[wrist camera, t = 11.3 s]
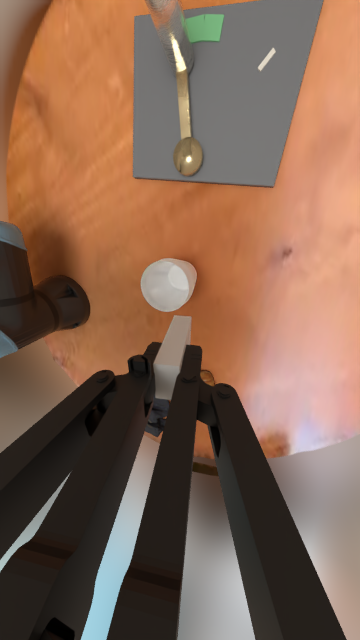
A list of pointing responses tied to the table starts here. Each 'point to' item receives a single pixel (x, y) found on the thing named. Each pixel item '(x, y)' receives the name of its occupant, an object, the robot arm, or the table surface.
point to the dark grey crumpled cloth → (157, 416)
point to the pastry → (207, 377)
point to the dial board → (224, 90)
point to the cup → (168, 283)
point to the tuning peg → (178, 76)
